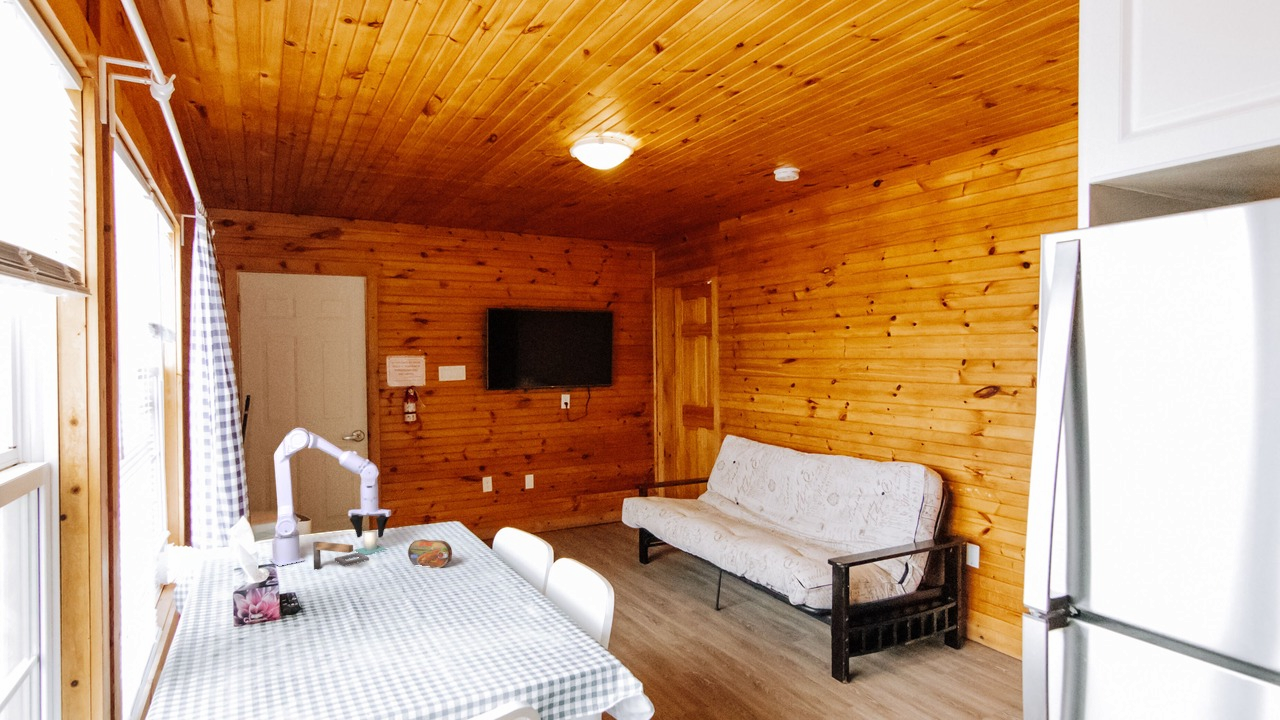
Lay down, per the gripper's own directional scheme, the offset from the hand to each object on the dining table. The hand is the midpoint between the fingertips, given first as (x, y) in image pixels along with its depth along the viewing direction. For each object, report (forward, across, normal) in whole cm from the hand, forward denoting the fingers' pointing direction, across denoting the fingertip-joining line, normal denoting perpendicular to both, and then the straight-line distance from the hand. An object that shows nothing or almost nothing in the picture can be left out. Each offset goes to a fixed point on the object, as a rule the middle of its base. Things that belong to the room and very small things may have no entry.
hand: (370, 536), depth 235 cm
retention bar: (+5, -2, -21) cm, 21 cm away
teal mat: (+5, 0, 0) cm, 5 cm away
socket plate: (+5, -1, -11) cm, 12 cm away
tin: (+5, +28, -15) cm, 32 cm away
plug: (+4, 0, 0) cm, 4 cm away
